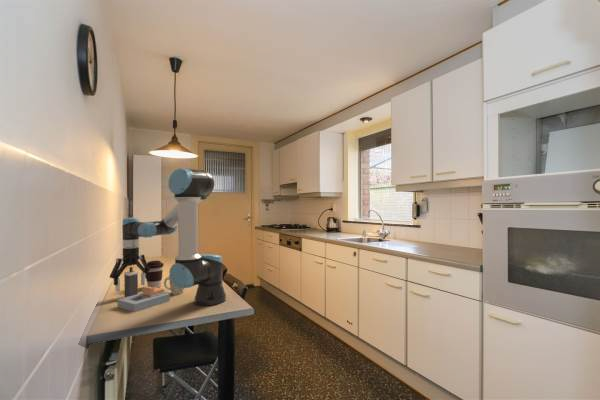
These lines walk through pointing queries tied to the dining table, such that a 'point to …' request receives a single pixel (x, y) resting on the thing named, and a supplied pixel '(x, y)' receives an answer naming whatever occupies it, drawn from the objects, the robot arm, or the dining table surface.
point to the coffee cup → (154, 274)
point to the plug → (131, 282)
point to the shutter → (151, 290)
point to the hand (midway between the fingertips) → (130, 288)
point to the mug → (173, 287)
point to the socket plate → (142, 301)
